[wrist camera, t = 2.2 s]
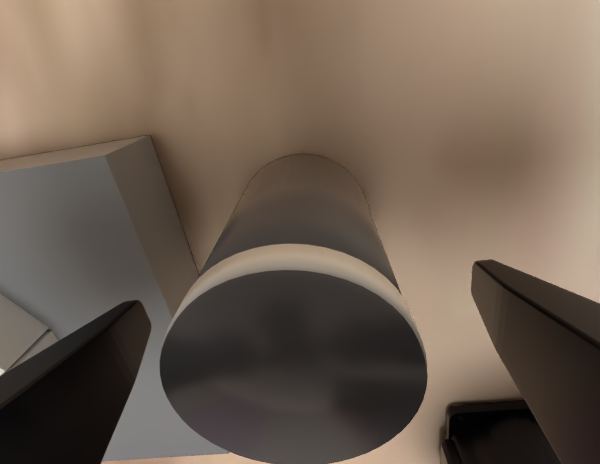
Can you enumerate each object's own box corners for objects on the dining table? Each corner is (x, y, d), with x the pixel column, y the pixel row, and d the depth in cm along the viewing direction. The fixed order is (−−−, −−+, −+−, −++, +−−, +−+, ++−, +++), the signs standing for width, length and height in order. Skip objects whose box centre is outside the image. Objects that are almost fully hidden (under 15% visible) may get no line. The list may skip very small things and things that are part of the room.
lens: (362, 142, 12) (430, 255, 5) (372, 262, 14) (429, 459, 7) (225, 163, 13) (112, 293, 6) (255, 276, 15) (201, 473, 8)
